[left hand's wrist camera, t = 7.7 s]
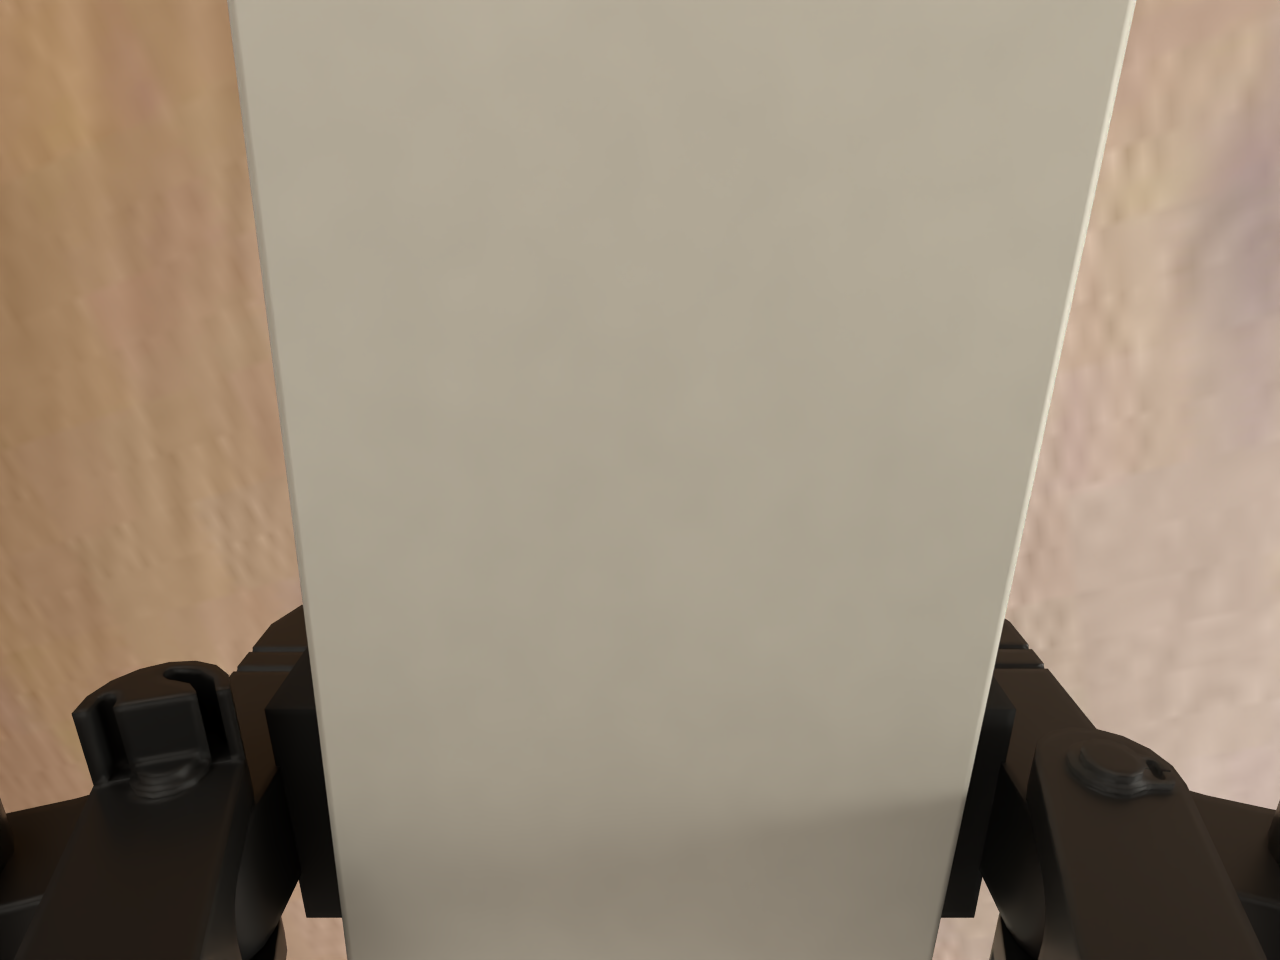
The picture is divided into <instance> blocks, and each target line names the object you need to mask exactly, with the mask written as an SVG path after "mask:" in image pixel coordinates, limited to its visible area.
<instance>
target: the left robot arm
mask: <svg viewBox="0 0 1280 960" xmlns="http://www.w3.org/2000/svg"><path fill="white" fill-rule="evenodd" d="M237 668H238V669H237V672H233V673H232V674H231V675H230V677H229V675H228V674H227V673H226V672H224V671H223V670H222V669H221V668H219V667H218V666H217V665H213V664H209V663H204V662H199V661H183V662H168V663H163V664H159V665H155V666H151V667H146V668H142V669H139V670H136V671H134V672H131V673H129V674H127V675H124V676H122V677H119V678H117V679H114V680H112V681H110V682H109V683H107V684H105V685H104V686H102V687H101V688H99V689H98V690H96V691H95V692H93V693H92V694H90V695H88V696H87V697H86V698H85V699H84V700H83V701H82V703H81V704H80V705H79V706H78V707H77V708H76V709H75V711H74V712H73V713H72V717H73V720H74V723H75V726H76V730H77V733H78V736H79V739H80V743H81V746H82V749H83V752H84V756H85V759H86V762H87V765H88V769H89V772H90V775H91V778H92V782H93V785H94V786H93V788H92V791H91V793H90V795H87V796H83V797H80V798H76V799H72V800H67V801H63V802H58V803H53V804H49V805H44V806H39V807H35V808H30V809H25V810H21V811H16V812H11V813H7V814H6V813H5V810H4V807H3V805H2V802H1V799H0V960H286V955H287V946H286V939H285V932H284V927H283V922H282V918H281V915H282V913H283V911H284V909H285V907H286V905H287V903H288V901H289V899H290V897H291V895H292V892H293V890H294V888H295V886H296V884H297V882H298V880H299V883H300V888H301V893H302V898H303V903H304V908H305V913H306V918H342V912H341V904H340V896H339V888H338V880H337V872H336V864H335V856H334V848H333V840H332V832H331V824H330V816H329V808H328V800H327V792H326V784H325V776H324V768H323V760H322V752H321V744H320V736H319V728H318V720H317V712H316V705H315V697H314V689H313V681H312V673H311V665H310V657H309V649H308V641H307V633H306V625H305V617H304V609H303V605H301V606H299V607H298V608H296V609H295V610H293V611H291V612H290V613H288V614H287V615H285V616H284V617H282V618H281V619H279V620H277V621H276V622H274V623H273V624H271V625H270V627H269V628H268V629H267V630H266V632H265V633H264V634H263V635H262V637H261V638H260V639H259V640H258V642H257V643H256V644H255V645H254V647H253V652H249V653H248V654H247V655H246V657H245V658H244V659H243V660H242V662H241V663H240V664H239V665H238V667H237ZM982 877H983V879H984V881H985V883H986V885H987V887H988V889H989V891H990V893H991V895H992V897H993V900H994V902H995V904H996V906H997V908H998V910H999V912H1000V913H999V918H998V922H997V927H996V932H995V936H994V941H993V945H992V950H991V955H990V959H989V960H1280V801H1279V804H1278V807H1277V809H1276V810H1272V809H1267V808H1263V807H1258V806H1253V805H1249V804H1244V803H1239V802H1235V801H1230V800H1225V799H1221V798H1216V797H1211V796H1207V795H1203V794H1199V793H1196V792H1192V791H1189V789H1188V787H1187V785H1186V783H1185V782H1184V781H1183V779H1182V778H1181V777H1180V775H1179V774H1178V773H1177V771H1176V770H1175V769H1174V767H1173V766H1172V765H1171V764H1169V763H1168V762H1167V761H1165V760H1164V759H1163V758H1161V757H1160V756H1159V755H1157V754H1156V753H1155V752H1153V751H1152V750H1151V749H1149V748H1147V747H1145V746H1143V745H1140V744H1138V743H1136V742H1134V741H1132V740H1130V739H1128V738H1126V737H1124V736H1120V735H1117V734H1113V733H1109V732H1106V731H1102V730H1098V729H1096V728H1095V727H1094V725H1093V724H1092V723H1091V722H1090V720H1089V719H1088V718H1087V717H1086V716H1085V714H1084V713H1083V712H1082V711H1081V709H1080V708H1079V707H1078V706H1077V704H1076V703H1075V702H1074V701H1073V699H1072V698H1071V697H1070V696H1069V694H1068V693H1067V692H1066V691H1065V689H1064V688H1063V687H1062V686H1061V685H1060V683H1059V682H1058V681H1057V680H1056V678H1055V677H1054V676H1053V675H1052V673H1051V672H1050V671H1049V670H1048V669H1044V663H1043V662H1042V661H1041V660H1040V659H1039V657H1038V656H1037V655H1036V654H1035V652H1034V651H1033V650H1032V649H1029V648H1028V644H1027V642H1026V641H1025V640H1024V639H1023V637H1022V636H1021V635H1020V634H1019V633H1018V631H1017V630H1016V629H1015V628H1014V626H1013V625H1012V624H1011V623H1010V622H1009V621H1008V620H1006V619H1004V623H1003V628H1002V633H1001V637H1000V642H999V647H998V652H997V656H996V661H995V666H994V670H993V675H992V680H991V684H990V689H989V694H988V698H987V703H986V708H985V713H984V717H983V722H982V727H981V731H980V736H979V741H978V745H977V750H976V755H975V759H974V764H973V769H972V774H971V778H970V783H969V788H968V792H967V797H966V802H965V806H964V811H963V816H962V820H961V825H960V830H959V835H958V839H957V844H956V849H955V853H954V858H953V863H952V867H951V872H950V877H949V881H948V886H947V891H946V896H945V900H944V905H943V910H942V914H941V918H974V915H975V911H976V906H977V901H978V896H979V891H980V886H981V881H982Z"/></svg>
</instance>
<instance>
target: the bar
mask: <svg viewBox="0 0 1280 960" xmlns="http://www.w3.org/2000/svg"><path fill="white" fill-rule="evenodd" d="M227 2H228V10H229V18H230V26H231V34H232V42H233V50H234V58H235V66H236V74H237V82H238V90H239V98H240V106H241V114H242V122H243V130H244V138H245V146H246V154H247V162H248V170H249V178H250V186H251V194H252V202H253V210H254V218H255V226H256V234H257V242H258V249H259V257H260V265H261V273H262V281H263V289H264V297H265V305H266V313H267V321H268V329H269V337H270V345H271V353H272V361H273V369H274V377H275V385H276V393H277V401H278V409H279V417H280V425H281V433H282V441H283V449H284V457H285V465H286V473H287V481H288V489H289V497H290V505H291V513H292V521H293V529H294V537H295V545H296V553H297V561H298V569H299V577H300V585H301V593H302V601H303V609H304V617H305V625H306V633H307V641H308V649H309V657H310V665H311V673H312V681H313V689H314V697H315V705H316V712H317V720H318V728H319V736H320V744H321V752H322V760H323V768H324V776H325V784H326V792H327V800H328V808H329V816H330V824H331V832H332V840H333V848H334V856H335V864H336V872H337V880H338V888H339V896H340V904H341V912H342V920H343V928H344V936H345V944H346V952H347V960H932V957H933V952H934V947H935V942H936V938H937V933H938V928H939V924H940V919H941V914H942V910H943V905H944V900H945V896H946V891H947V886H948V881H949V877H950V872H951V867H952V863H953V858H954V853H955V849H956V844H957V839H958V835H959V830H960V825H961V820H962V816H963V811H964V806H965V802H966V797H967V792H968V788H969V783H970V778H971V774H972V769H973V764H974V759H975V755H976V750H977V745H978V741H979V736H980V731H981V727H982V722H983V717H984V713H985V708H986V703H987V698H988V694H989V689H990V684H991V680H992V675H993V670H994V666H995V661H996V656H997V652H998V647H999V642H1000V637H1001V633H1002V628H1003V623H1004V619H1005V614H1006V609H1007V605H1008V600H1009V595H1010V591H1011V586H1012V581H1013V576H1014V572H1015V567H1016V562H1017V558H1018V553H1019V548H1020V544H1021V539H1022V534H1023V530H1024V525H1025V520H1026V515H1027V511H1028V506H1029V501H1030V497H1031V492H1032V487H1033V483H1034V478H1035V473H1036V469H1037V464H1038V459H1039V454H1040V450H1041V445H1042V440H1043V436H1044V431H1045V426H1046V422H1047V417H1048V412H1049V408H1050V403H1051V398H1052V393H1053V389H1054V384H1055V379H1056V375H1057V370H1058V365H1059V361H1060V356H1061V351H1062V347H1063V342H1064V337H1065V332H1066V328H1067V323H1068V318H1069V314H1070V309H1071V304H1072V300H1073V295H1074V290H1075V286H1076V281H1077V276H1078V271H1079V267H1080V262H1081V257H1082V253H1083V248H1084V243H1085V239H1086V234H1087V229H1088V225H1089V220H1090V215H1091V210H1092V206H1093V201H1094V196H1095V192H1096V187H1097V182H1098V178H1099V173H1100V168H1101V164H1102V159H1103V154H1104V149H1105V145H1106V140H1107V135H1108V131H1109V126H1110V121H1111V117H1112V112H1113V107H1114V103H1115V98H1116V93H1117V88H1118V84H1119V79H1120V74H1121V70H1122V65H1123V60H1124V56H1125V51H1126V46H1127V42H1128V37H1129V32H1130V27H1131V23H1132V18H1133V13H1134V9H1135V4H1136V0H227Z"/></svg>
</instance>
